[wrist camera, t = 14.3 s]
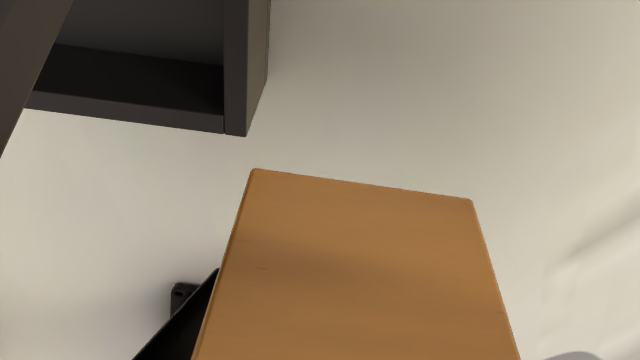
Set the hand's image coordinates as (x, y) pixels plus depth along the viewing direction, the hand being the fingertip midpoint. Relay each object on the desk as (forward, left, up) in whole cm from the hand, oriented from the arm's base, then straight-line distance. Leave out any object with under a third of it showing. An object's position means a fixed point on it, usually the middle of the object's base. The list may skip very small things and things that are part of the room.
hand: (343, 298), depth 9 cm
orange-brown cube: (0, 0, -1) cm, 1 cm away
